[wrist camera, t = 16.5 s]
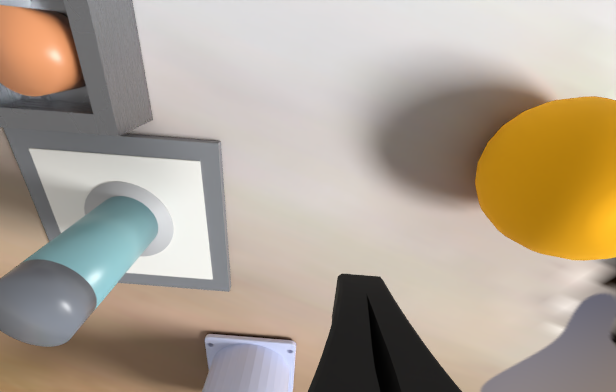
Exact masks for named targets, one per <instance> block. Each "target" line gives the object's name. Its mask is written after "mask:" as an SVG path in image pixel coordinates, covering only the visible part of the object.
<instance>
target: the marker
mask: <svg viewBox="0 0 616 392" xmlns="http://www.w3.org/2000/svg"><path fill="white" fill-rule="evenodd" d="M157 233H158V223H157V220H156V217H155V216H154V214H153V213H152V211H151V210H150V209H149V208H148V207H147V206H145V205H144V204H143V203H141V202H139V201H138V200H135V199H133V198H130V197H125V196H115V197H111V198H108V199H107V200H105V201H104V202H103V203H101V204H100V205H98V206H97V207H96V208H94V209H93V210H92V211H90V212H89V213H88V214H86V215H85V216H84V217H82V218H81V219H80V220H78V221H77V222H76V223H74V224H73V225H72V226H70V227H69V228H68V229H66V230H65V231H63V232H62V233H61V234H59V235H58V236H57V237H55V238H54V239H53V240H51V241H50V242H49V243H47V244H46V245H45V246H43V247H42V248H41V249H39V250H38V251H37V252H35V253H34V254H33V255H31V256H30V257H28V258H27V259H26V260H24V261H23V262H22V263H20V264H19V265H18V266H16V267H15V268H14V269H12V270H11V271H10V272H8V273H7V274H6V275H4V276H3V277H2V278H0V331H2V332H3V333H5V334H7V335H8V336H10V337H12V338H14V339H17V340H19V341H22V342H24V343H28V344H31V345H36V346H45V347H50V346H58V345H62V344H64V343H66V342H67V341H69V340H70V339H71V337H72V336H73V335H74V334H75V333H76V331H77V330H78V329H79V328H80V327H81V325H82V324H83V323H84V322H85V321H86V320H87V318H88V317H89V316H90V315H91V314H92V312H93V311H94V310H95V309H96V308H97V306H98V305H99V304H100V303H101V302H102V301H103V299H104V298H105V297H106V296H107V295H108V293H109V292H110V291H111V290H112V289H113V287H114V286H115V285H116V284H117V283H118V282H119V280H120V279H121V278H122V277H123V276H124V274H125V273H126V272H127V271H128V270H129V268H130V267H131V266H132V265H133V264H134V262H135V261H136V260H137V259H138V258H139V257H140V255H141V254H142V253H143V252H144V251H145V249H146V248H147V247H148V246H149V245H150V243H151V242H152V241H153V240H154V239H155V237H156V236H157Z"/></svg>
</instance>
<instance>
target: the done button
mask: <svg viewBox="0 0 616 392" xmlns="http://www.w3.org/2000/svg"><path fill="white" fill-rule="evenodd" d="M0 83H1V84H3V85H4V86H5V87H7V88H9V89H10V90H12V91H14V92H16V93H19V94H22V95H26V96H43V95H48V94H53V93H58V92H63V91H68V90H73V89H78V88H81V87H83V86H85V85H86V84H85V80H84V76H83V73H82V69H81V65H80V61H79V57H78V54H77V50H76V46H75V42H74V38H73V35H72V31H71V27H70V23H69V19H68V17H66V16H64V15H63V14H60V13H58V12H55V11H50V10H42V9H33V8H24V7H14V6H5V5H0Z"/></svg>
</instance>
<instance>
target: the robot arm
mask: <svg viewBox="0 0 616 392" xmlns="http://www.w3.org/2000/svg"><path fill="white" fill-rule="evenodd" d="M205 347H206V354H207V361H208V368H209V373H208V375H207V378H206V381H205V384H204V387H203V390H202V392H293V381H294V367H295V352H296V343H295V342H294V341H292V340H281V339H269V338H256V337H244V336H232V335H219V334H208V335H206V337H205ZM308 392H462V391H461V390H460V389H459V388H458V386H457V385H456V384H455V383H454V382H453V380H452V379H451V378H450V377H449V375H448V374H447V373H446V372H445V370H444V369H443V368H442V367H441V365H440V364H439V363H438V361H437V360H436V359H435V357H434V356H433V355H432V354H431V352H430V351H429V350H428V348H427V347H426V345H425V344H424V343H423V341H422V340H421V339H420V337H419V336H418V334H417V333H416V331H415V330H414V328H413V327H412V326H411V324H410V323H409V321H408V320H407V318H406V317H405V315H404V314H403V312H402V311H401V309H400V308H399V306H398V304H397V303H396V301H395V300H394V298H393V296H392V295H391V293H390V291H389V290H388V288H387V286H386V285H385V283H384V281H383V280H382V279H381V277H377V276H364V275H351V274H341V275H339V276H338V280H337V287H336V294H335V300H334V307H333V314H332V325H331V329H330V332H329V336H328V339H327V342H326V345H325V348H324V351H323V354H322V357H321V359H320V362H319V365H318V368H317V370H316V373H315V375H314V378H313V380H312V383H311V385H310V388H309V390H308Z"/></svg>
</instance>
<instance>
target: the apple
mask: <svg viewBox="0 0 616 392" xmlns="http://www.w3.org/2000/svg"><path fill="white" fill-rule="evenodd" d="M475 186H476V191H477V195H478V200H479V204H480V207H481V209H482V211H483V212H484V213H485V215H486V216H487V217H488V219H489V220H490V221H491V222H492V223H493V225H494V226H495V227H496V228H497V229H498V231H500V232H501V233H502V234H503V235H505V236H506V237H508V238H510V239H511V240H513V241H515V242H517V243H519V244H521V245H522V246H524V247H526V248H528V249H530V250H532V251H535V252H538V253H541V254H546V255H551V256H556V257H560V258H565V259H571V260H596V259H608V258H614V257H616V100H612V99H608V98H602V97H595V96H594V97H578V98H570V99H561V100H554V101H550V102H547V103H544V104H542V105H539V106H536V107H534V108H531V109H529V110H526V111H524V112H522V113H521V114H519V115H518V116H516V117H515V118H513V119H512V120H510V121H509V122H507V123H506V124H504V125H503V126H502V127H501V128H500V129H499V130H498V131H497V133H496V134H495V135H494V136H493V137H492V138H491V139H490V140H489V142H488V143H487V145H486V147H485V149H484V151H483V153H482V155H481V157H480V159H479V161H478V165H477V172H476V178H475Z"/></svg>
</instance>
